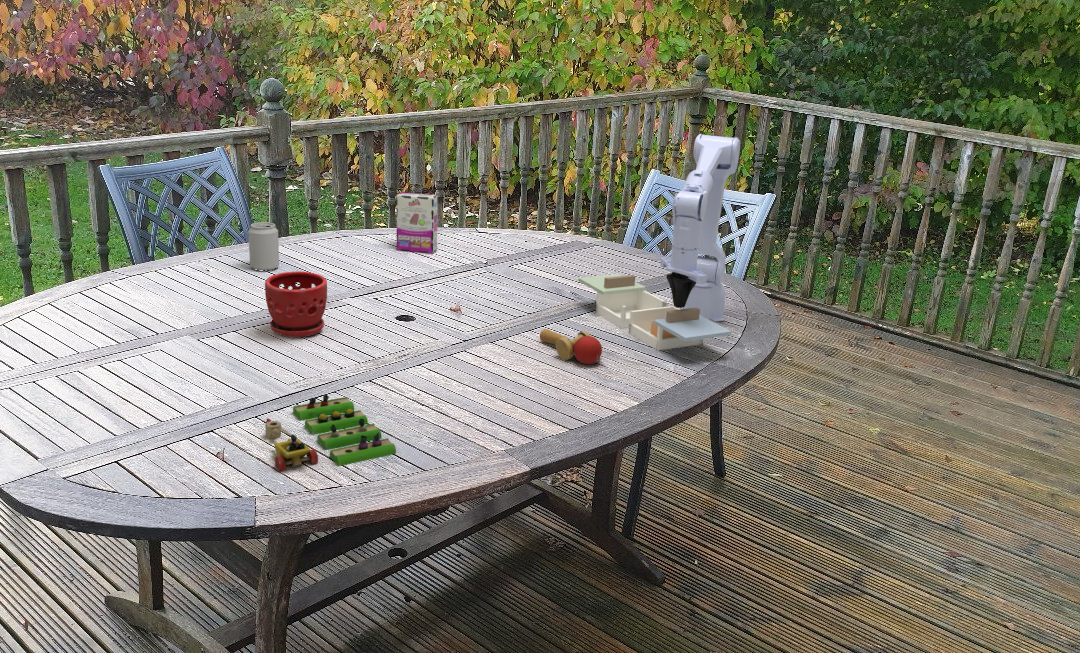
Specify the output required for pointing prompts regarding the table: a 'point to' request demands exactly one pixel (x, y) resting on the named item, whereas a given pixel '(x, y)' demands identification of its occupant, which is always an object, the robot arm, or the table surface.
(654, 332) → the block
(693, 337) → the lid
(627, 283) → the lid
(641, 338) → the crate
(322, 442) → the toy garden set
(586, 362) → the kendama
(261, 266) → the can
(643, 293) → the crate
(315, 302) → the plant pot
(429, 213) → the candy bar box
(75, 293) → the table surface
